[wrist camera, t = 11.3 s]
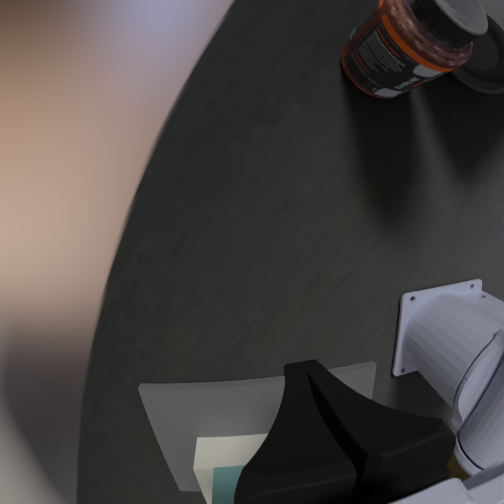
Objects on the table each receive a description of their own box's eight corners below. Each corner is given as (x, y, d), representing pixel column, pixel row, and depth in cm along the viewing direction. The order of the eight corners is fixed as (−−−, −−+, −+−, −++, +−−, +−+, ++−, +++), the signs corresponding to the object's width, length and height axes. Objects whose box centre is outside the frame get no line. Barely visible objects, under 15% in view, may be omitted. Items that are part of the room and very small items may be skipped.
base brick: (285, 431, 24) (291, 462, 20) (286, 477, 26) (291, 505, 22) (197, 437, 24) (193, 469, 20) (211, 482, 26) (210, 510, 22)
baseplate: (373, 360, 24) (376, 365, 23) (354, 468, 27) (356, 473, 26) (140, 383, 23) (138, 388, 22) (181, 485, 27) (180, 490, 26)
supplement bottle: (394, 115, 20) (497, 78, 9) (326, 74, 19) (396, -6, 8) (414, 61, 19) (503, 11, 8) (353, 21, 18) (418, -58, 7)
